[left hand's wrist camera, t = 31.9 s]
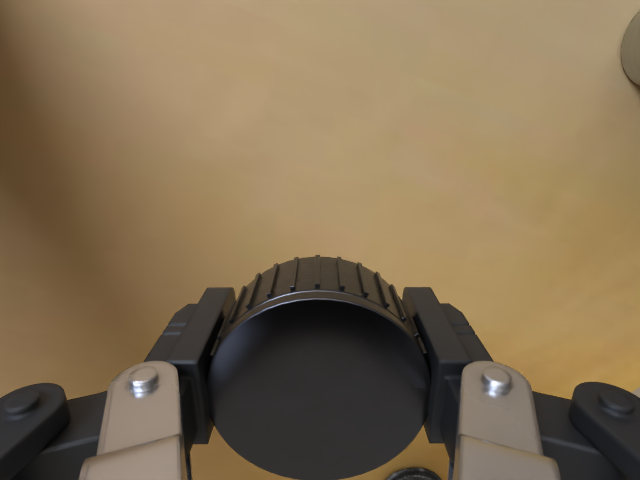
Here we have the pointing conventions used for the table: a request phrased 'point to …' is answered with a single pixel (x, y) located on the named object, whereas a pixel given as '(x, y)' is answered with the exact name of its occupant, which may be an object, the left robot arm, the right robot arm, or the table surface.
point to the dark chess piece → (414, 475)
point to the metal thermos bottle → (632, 50)
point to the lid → (318, 371)
